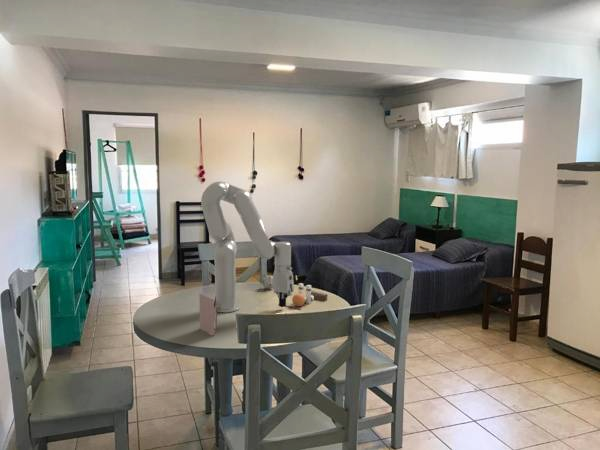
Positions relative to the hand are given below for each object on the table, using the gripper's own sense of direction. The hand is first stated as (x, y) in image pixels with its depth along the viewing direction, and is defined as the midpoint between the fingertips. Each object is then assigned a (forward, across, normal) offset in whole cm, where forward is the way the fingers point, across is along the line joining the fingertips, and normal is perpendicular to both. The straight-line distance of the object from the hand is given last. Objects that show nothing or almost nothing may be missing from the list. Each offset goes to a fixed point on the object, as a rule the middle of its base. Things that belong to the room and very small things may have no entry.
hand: (282, 306), depth 228 cm
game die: (+2, +32, -24) cm, 40 cm away
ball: (-2, -2, -9) cm, 10 cm away
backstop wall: (+2, 0, -26) cm, 27 cm away
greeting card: (+2, +1, +44) cm, 44 cm away
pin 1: (+2, +2, -16) cm, 17 cm away
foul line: (+2, 0, -5) cm, 5 cm away
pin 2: (+2, -2, -16) cm, 17 cm away
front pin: (0, 0, -13) cm, 13 cm away
